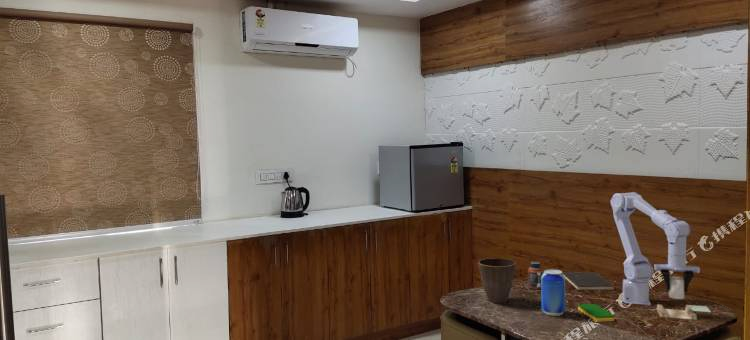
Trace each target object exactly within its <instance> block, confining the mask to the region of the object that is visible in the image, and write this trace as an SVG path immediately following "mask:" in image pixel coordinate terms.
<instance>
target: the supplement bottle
mask: <svg viewBox="0 0 750 340" xmlns="http://www.w3.org/2000/svg"><path fill="white" fill-rule="evenodd" d="M527 273H528V277H527V278H528V280H527V281H528V282H527V283H528V284H527V285H528V288H529V289H531V288H532V290H542V287H541V277H542V275H543V268H542V267H541V262H539V261H531V262H530V266H529V267H528V272H527Z"/></svg>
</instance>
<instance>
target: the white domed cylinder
mask: <svg viewBox="0 0 750 340" xmlns="http://www.w3.org/2000/svg"><path fill="white" fill-rule="evenodd" d="M669 287H670V289H669V291H668V297H669V298H670V299H675V300H683V299H685V292H684V277H680V276H670V278H669Z"/></svg>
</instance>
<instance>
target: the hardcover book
mask: <svg viewBox="0 0 750 340" xmlns="http://www.w3.org/2000/svg"><path fill="white" fill-rule="evenodd" d="M562 274H563V276H564V277H565V280H567V281H568V283H570V284H571V285H572V286H573V287H574V288H575V289H576V290H579V291H580V290H582V291H583V290H584V291H585V290H588V291H589V290H590V291H591V290H593V291H594V290H599V291H601V290H606V291H608V290H609V291H610V290H611V291H612V290H613V291H614V290H616V287H615V285H613V284H611V282H609V281H608V280H606V279H605V278H603V277H602V276H601V275H600V274H598V273H597V272H595V271H594V272H593V271H592V272H591V271H590V272H589V271H588V272H581V271H580V272H576V271H575V272H570V271H569V272H563V271H562Z"/></svg>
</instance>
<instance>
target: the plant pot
mask: <svg viewBox="0 0 750 340" xmlns="http://www.w3.org/2000/svg"><path fill="white" fill-rule="evenodd" d="M516 264H517V263H516V261H514V260H513V259H510V258H509V259H507V258H502V257H501V258H500V257H499V258H497V257H490V258H483V259H479V261H478V268H479V269H478V270H479V273H480V278H481V282H482V286H483V289H484V292H485V294H486V298H487V300H488V301H489V303H494V304H503V303H507V302H508V300H509V299H508V298H509V296H510V293H511V291H512V287H513V283H514V277H515V273H516V272H515V271H516V266H517V265H516Z"/></svg>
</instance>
